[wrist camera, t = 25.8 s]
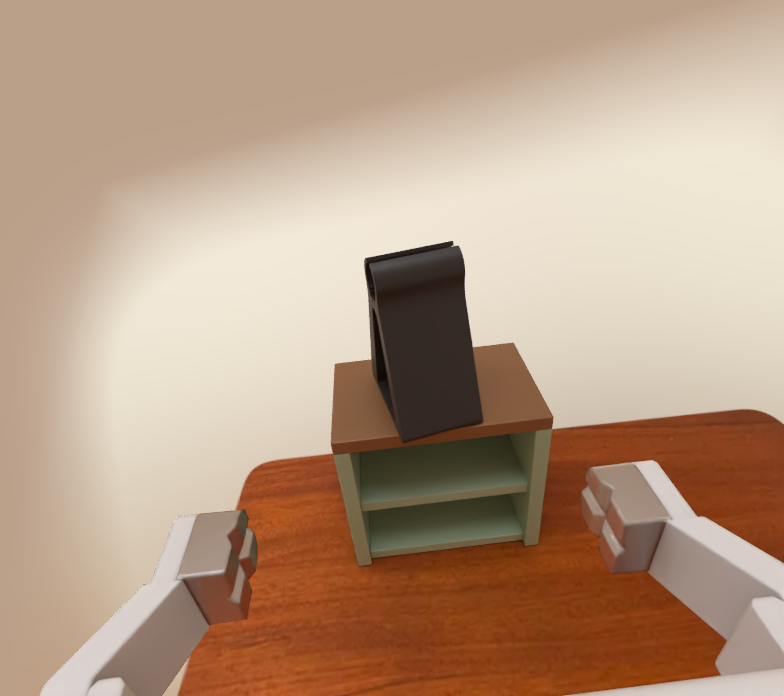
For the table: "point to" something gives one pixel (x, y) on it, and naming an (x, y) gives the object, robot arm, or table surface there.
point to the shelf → (442, 464)
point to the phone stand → (422, 340)
